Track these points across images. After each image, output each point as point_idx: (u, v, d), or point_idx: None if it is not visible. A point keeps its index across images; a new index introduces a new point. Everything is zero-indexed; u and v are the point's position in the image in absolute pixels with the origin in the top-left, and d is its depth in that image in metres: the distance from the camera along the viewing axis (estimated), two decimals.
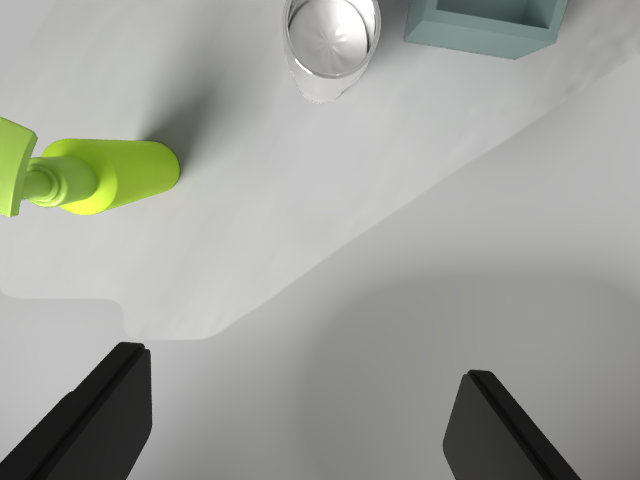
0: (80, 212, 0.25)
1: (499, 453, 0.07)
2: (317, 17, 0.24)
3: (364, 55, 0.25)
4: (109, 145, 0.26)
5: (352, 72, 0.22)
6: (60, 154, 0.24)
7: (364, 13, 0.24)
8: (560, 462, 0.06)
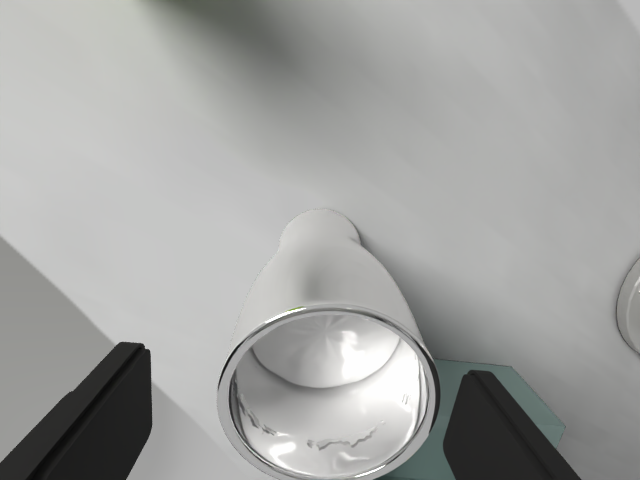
0: None
1: (499, 453, 0.07)
2: None
3: (307, 386, 0.14)
4: None
5: (235, 445, 0.10)
6: None
7: (370, 392, 0.13)
8: (560, 462, 0.06)
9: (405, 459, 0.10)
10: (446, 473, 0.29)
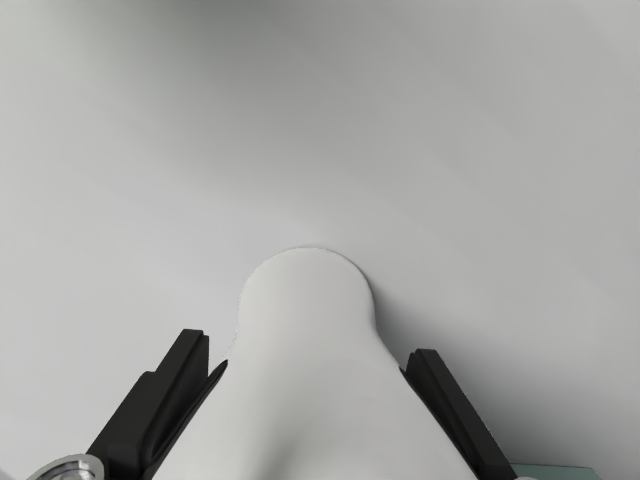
0: None
1: None
2: None
3: None
4: None
5: None
6: None
7: None
8: (477, 424, 0.07)
9: None
10: None
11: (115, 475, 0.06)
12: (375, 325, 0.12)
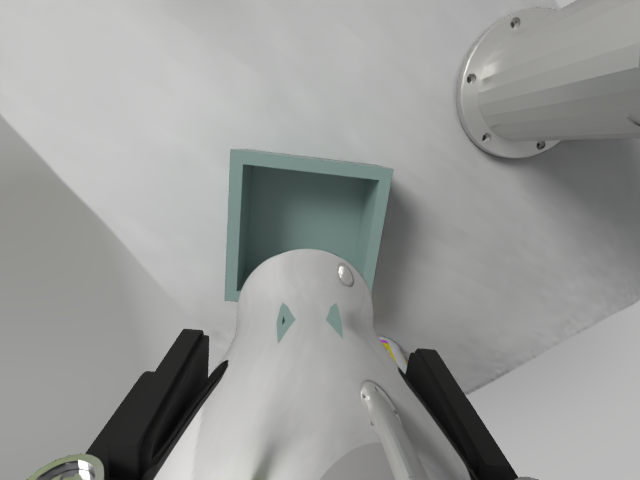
0: None
1: None
2: None
3: None
4: None
5: None
6: None
7: None
8: (477, 424, 0.07)
9: None
10: None
11: (115, 475, 0.06)
12: (374, 326, 0.12)
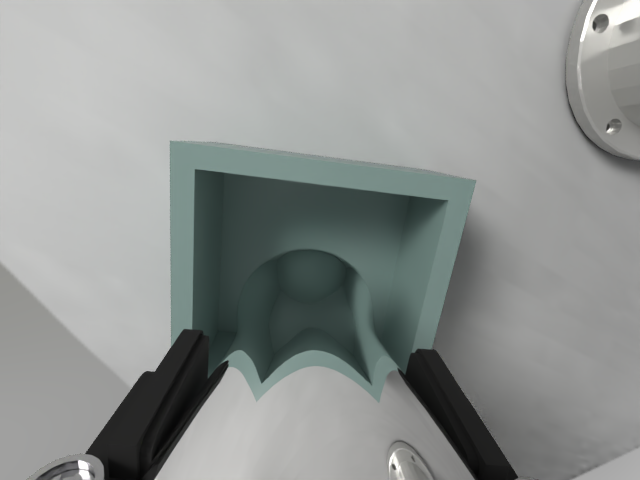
0: None
1: None
2: None
3: None
4: None
5: None
6: None
7: None
8: (477, 424, 0.07)
9: None
10: None
11: (115, 475, 0.06)
12: (374, 326, 0.12)
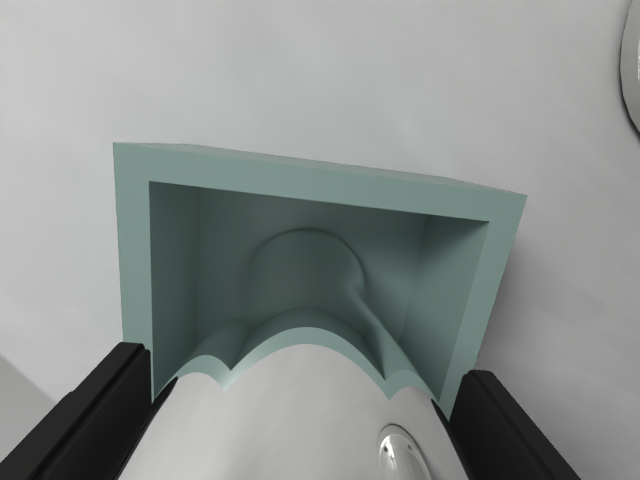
0: None
1: (499, 453, 0.07)
2: None
3: None
4: None
5: None
6: None
7: None
8: (560, 462, 0.06)
9: None
10: None
11: None
12: (363, 295, 0.13)
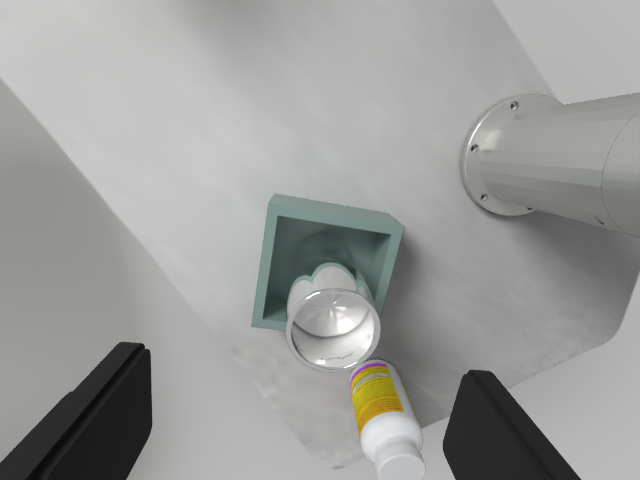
0: None
1: (499, 453, 0.07)
2: None
3: (318, 335, 0.26)
4: None
5: (292, 350, 0.22)
6: None
7: (351, 337, 0.26)
8: (560, 462, 0.06)
9: (365, 359, 0.22)
10: None
11: None
12: None
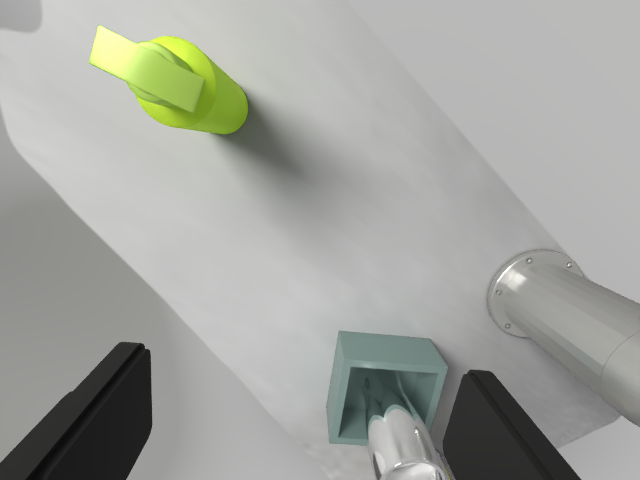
0: None
1: (499, 453, 0.07)
2: None
3: None
4: (219, 111, 0.25)
5: None
6: (197, 71, 0.22)
7: (417, 470, 0.35)
8: (560, 462, 0.06)
9: None
10: None
11: None
12: (401, 386, 0.42)
